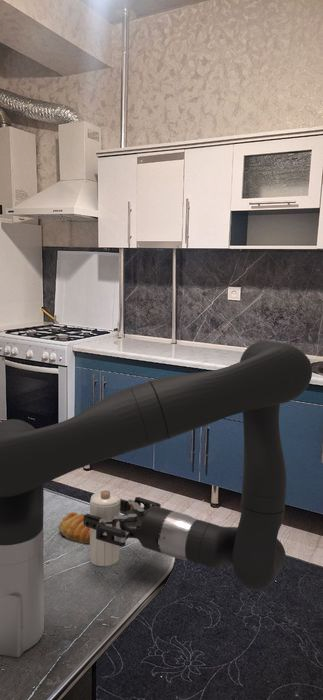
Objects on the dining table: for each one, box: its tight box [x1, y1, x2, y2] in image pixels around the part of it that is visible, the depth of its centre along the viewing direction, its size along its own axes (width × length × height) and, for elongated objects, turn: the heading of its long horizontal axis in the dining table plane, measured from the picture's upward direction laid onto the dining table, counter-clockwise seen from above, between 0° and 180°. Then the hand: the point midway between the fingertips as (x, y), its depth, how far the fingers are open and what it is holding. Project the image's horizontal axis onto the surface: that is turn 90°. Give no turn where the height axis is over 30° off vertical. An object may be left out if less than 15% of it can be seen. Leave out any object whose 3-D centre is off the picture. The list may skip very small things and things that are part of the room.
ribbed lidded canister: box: [89, 490, 121, 567], centre depth 97 cm, size 6×6×14 cm
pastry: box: [58, 511, 90, 545], centre depth 106 cm, size 9×7×4 cm
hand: (98, 510), depth 97 cm, fingers open, 8 cm apart
